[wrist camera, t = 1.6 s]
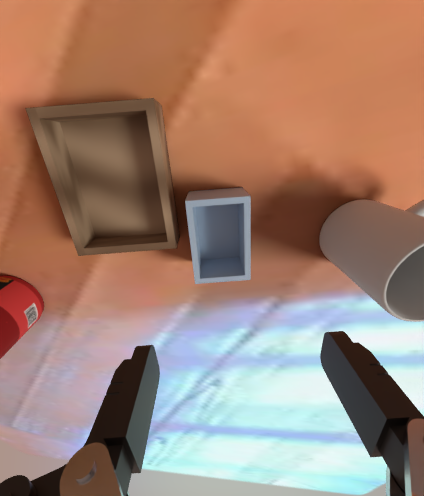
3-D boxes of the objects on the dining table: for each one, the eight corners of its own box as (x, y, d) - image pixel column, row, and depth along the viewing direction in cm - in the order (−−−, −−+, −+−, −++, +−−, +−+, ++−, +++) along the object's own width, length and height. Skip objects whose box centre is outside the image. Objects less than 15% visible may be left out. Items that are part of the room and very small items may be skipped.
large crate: (52, 114, 21) (25, 108, 18) (161, 105, 21) (153, 98, 18) (93, 243, 27) (78, 255, 24) (179, 236, 27) (176, 248, 24)
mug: (339, 274, 30) (407, 338, 20) (304, 231, 27) (362, 280, 17) (427, 215, 27) (559, 255, 17) (397, 160, 24) (534, 168, 14)
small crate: (188, 191, 25) (185, 201, 20) (242, 187, 25) (250, 196, 20) (196, 262, 28) (195, 283, 24) (243, 258, 28) (250, 279, 24)
